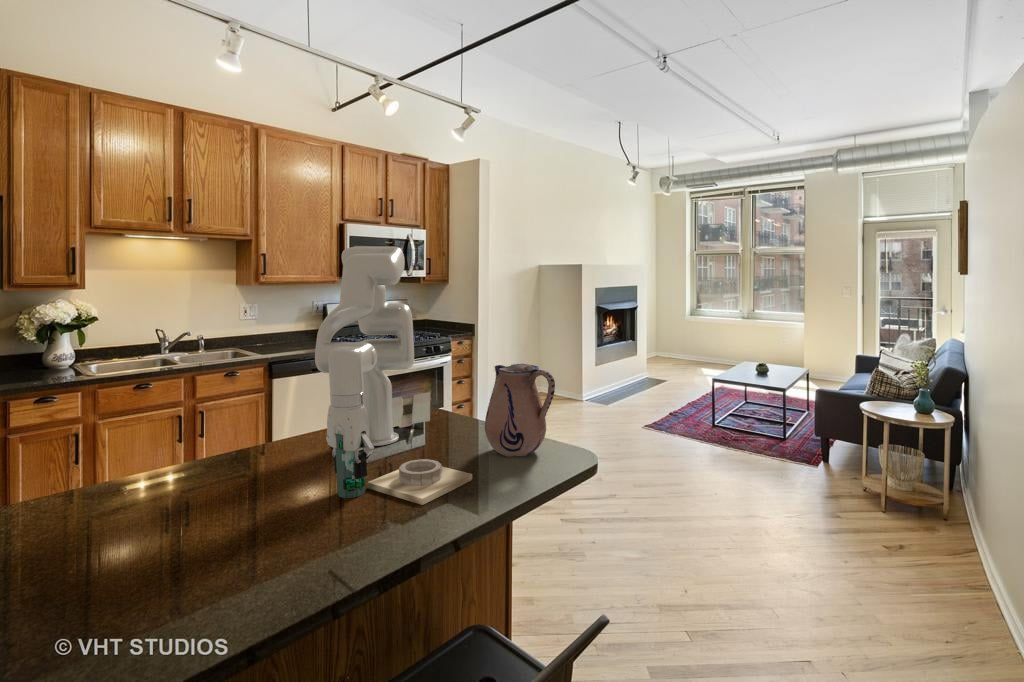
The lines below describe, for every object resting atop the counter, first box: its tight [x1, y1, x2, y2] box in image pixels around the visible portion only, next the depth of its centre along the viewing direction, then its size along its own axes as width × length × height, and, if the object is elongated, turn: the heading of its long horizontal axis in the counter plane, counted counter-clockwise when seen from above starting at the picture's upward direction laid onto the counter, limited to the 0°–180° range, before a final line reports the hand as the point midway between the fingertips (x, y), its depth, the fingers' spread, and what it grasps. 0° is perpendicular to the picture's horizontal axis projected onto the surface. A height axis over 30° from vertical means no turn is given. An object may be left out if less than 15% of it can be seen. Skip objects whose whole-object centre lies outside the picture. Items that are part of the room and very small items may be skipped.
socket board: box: [367, 458, 473, 506], centre depth 136 cm, size 18×18×4 cm
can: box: [335, 433, 366, 499], centre depth 130 cm, size 6×6×15 cm
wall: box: [392, 391, 431, 428], centre depth 193 cm, size 16×9×15 cm
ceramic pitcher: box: [484, 363, 556, 457], centre depth 158 cm, size 18×21×25 cm
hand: (350, 473), depth 131 cm, fingers closed on can, 6 cm apart
